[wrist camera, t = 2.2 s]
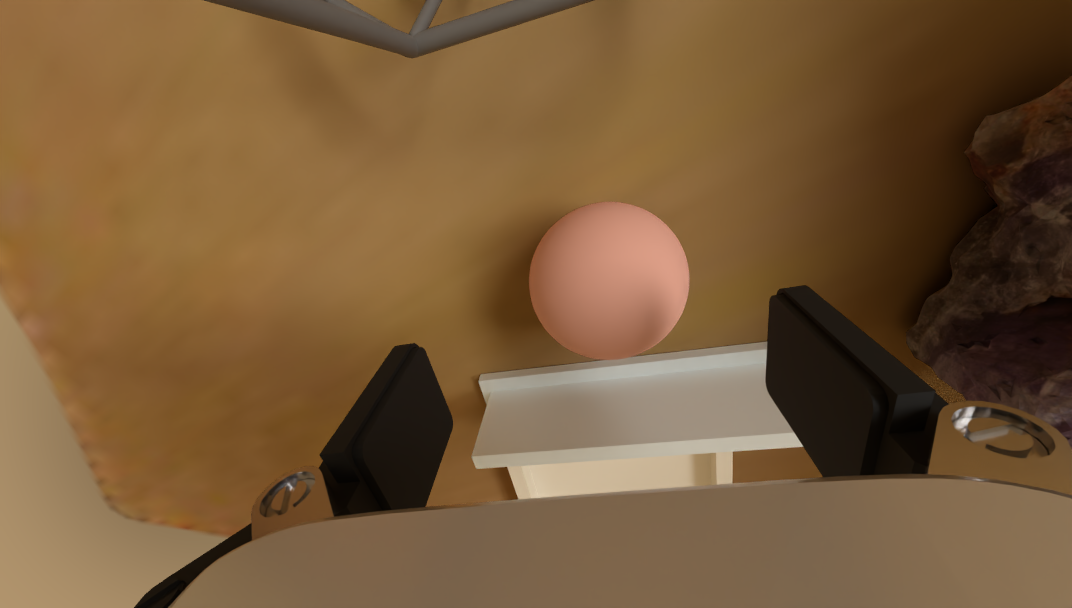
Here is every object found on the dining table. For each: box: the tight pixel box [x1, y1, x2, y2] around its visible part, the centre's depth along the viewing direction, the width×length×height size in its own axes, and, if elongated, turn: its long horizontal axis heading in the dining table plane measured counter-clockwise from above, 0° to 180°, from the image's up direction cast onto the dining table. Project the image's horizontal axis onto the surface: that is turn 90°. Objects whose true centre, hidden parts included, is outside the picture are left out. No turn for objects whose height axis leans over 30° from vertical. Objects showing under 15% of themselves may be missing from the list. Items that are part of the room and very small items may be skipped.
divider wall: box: [471, 342, 803, 469], centre depth 19 cm, size 15×2×5 cm, turn 102°
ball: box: [529, 202, 689, 360], centre depth 16 cm, size 6×6×6 cm
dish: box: [507, 452, 733, 499], centre depth 25 cm, size 12×12×2 cm
